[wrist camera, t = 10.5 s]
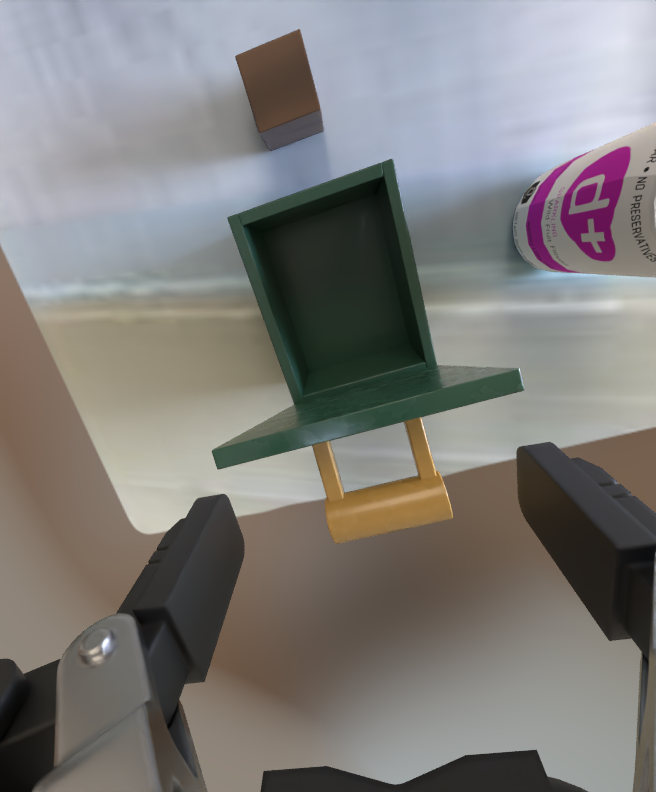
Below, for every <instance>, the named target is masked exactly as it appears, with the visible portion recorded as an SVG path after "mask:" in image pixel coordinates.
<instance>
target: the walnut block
mask: <svg viewBox="0 0 656 792" xmlns="http://www.w3.org/2000/svg"><path fill="white" fill-rule="evenodd" d="M235 57H236V61H237V64H238V67H239V70H240V73H241V77H242V80H243V83H244V86H245V89H246V93H247V96H248V99H249V102H250V105H251V109H252V112H253V115H254V118H255V121H256V125H257V128H258V131H259V133H260V135H261V136H262V138H263V139H264V141H265V142H266V144H267V146H268V147H269V149H270V150H271V151H272V150H274V149H277V148H280V147H282V146H285V145H288V144H290V143H293V142H296V141H298V140H301V139H304V138H306V137H309V136H312V135H314V134H317V133H320V132H322V131H324V129H323V122H322V115H321V108H320V104H319V100H318V97H317V93H316V89H315V85H314V81H313V77H312V73H311V70H310V66H309V62H308V58H307V54H306V50H305V47H304V43H303V39H302V35H301V31H300V29H298V30H296V31H294V32H291V33H289V34H286V35H284V36H282V37H279V38H277V39H275V40H272V41H270V42H267V43H265V44H263V45H260V46H258V47H255V48H253V49H251V50H248V51H246V52H243V53H241V54H239V55H236V56H235Z"/></svg>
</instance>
